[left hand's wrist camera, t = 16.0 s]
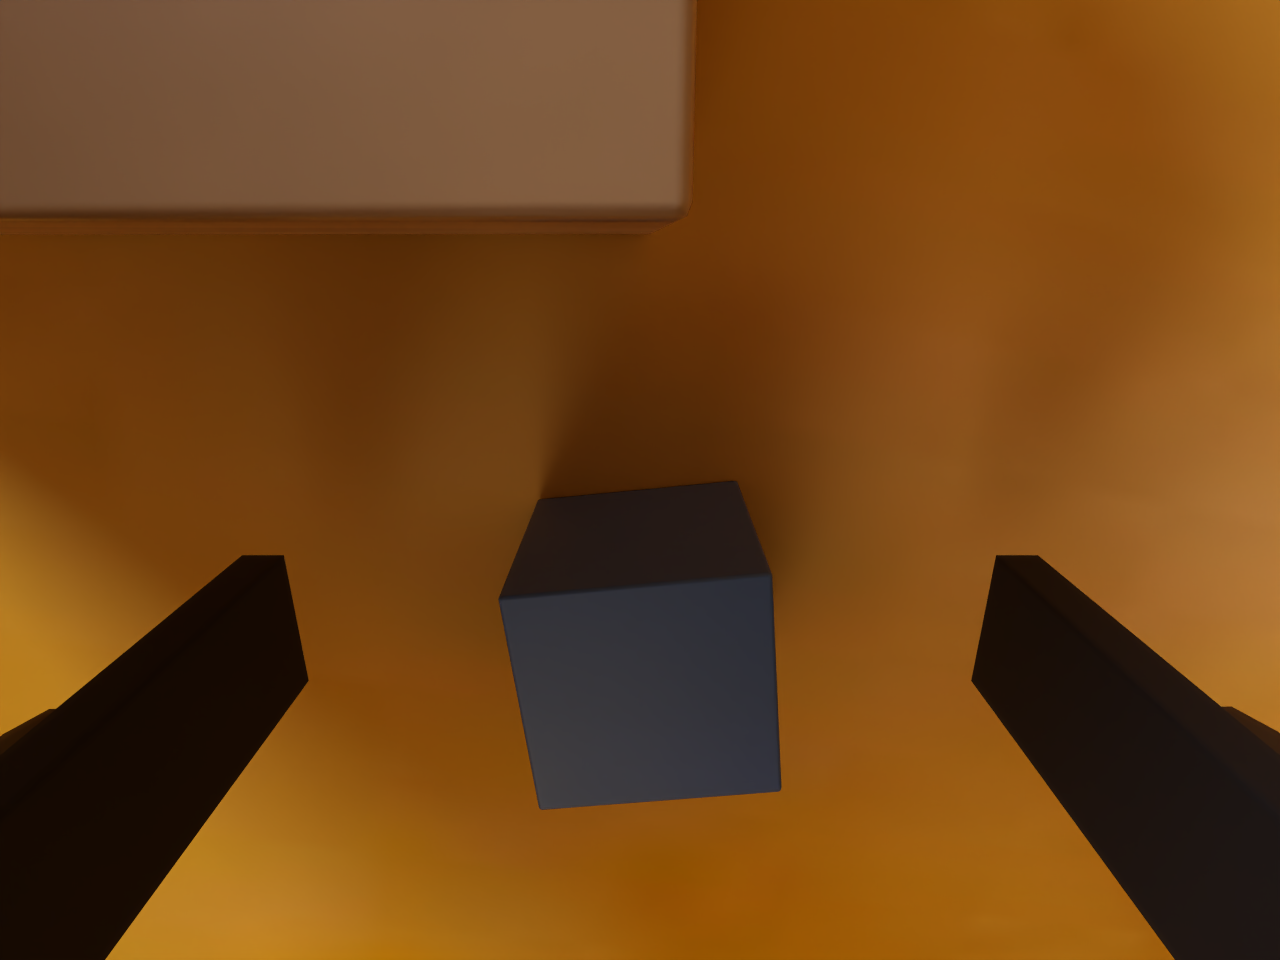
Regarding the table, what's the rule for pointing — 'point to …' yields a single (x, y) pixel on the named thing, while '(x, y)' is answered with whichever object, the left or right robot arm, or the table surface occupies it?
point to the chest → (346, 116)
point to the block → (644, 647)
